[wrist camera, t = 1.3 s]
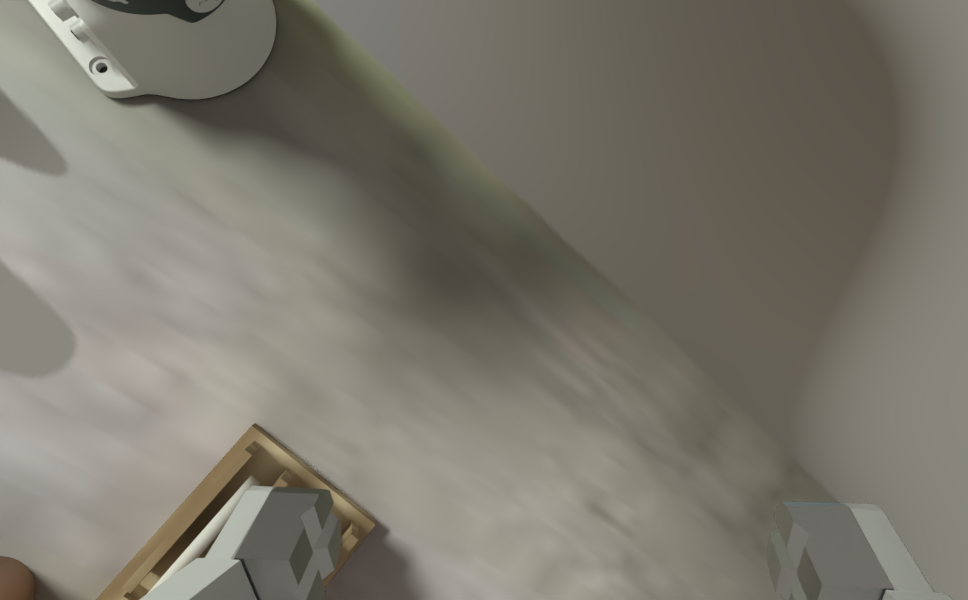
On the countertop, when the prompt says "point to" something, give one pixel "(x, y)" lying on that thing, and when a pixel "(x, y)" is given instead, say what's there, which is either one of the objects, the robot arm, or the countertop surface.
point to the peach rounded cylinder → (15, 580)
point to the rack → (215, 501)
